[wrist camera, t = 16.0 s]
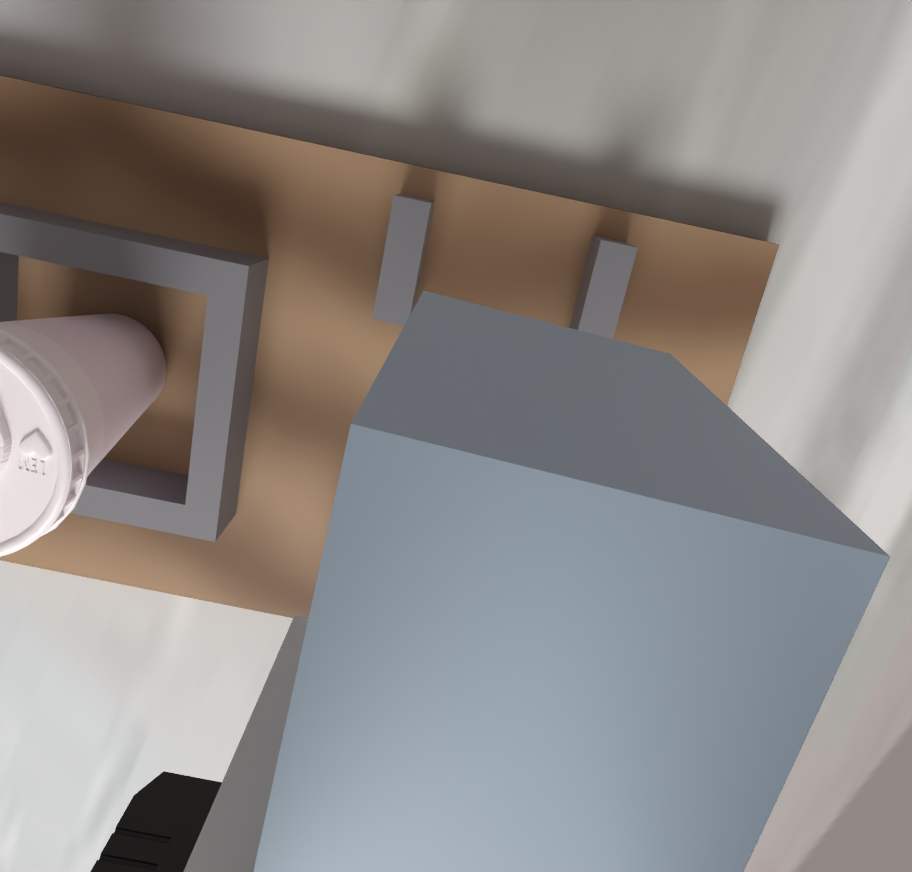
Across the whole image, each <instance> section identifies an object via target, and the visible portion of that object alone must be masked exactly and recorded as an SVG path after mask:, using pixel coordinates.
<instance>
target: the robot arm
mask: <svg viewBox="0 0 912 872" xmlns="http://www.w3.org/2000/svg"><path fill="white" fill-rule="evenodd" d="M307 623H308V617H303V616H298V615H295V616H294V618H293V621H292V623H291V625H290V627H289V630H288V632H287V634H286V637H285V639H284V641H283V644H282V646H281V648H280V650H279V653H278V655H277V657H276V660H275V662H274V664H273V667H272V669H271V671H270V674H269V676H268V678H267V680H266V683H265V685H264V687H263V690H262V692H261V694H260V697H259V699H258V701H257V703H256V706H255V708H254V710H253V713H252V715H251V717H250V720H249V722H248V724H247V726H246V729H245V731H244V733H243V736H242V738H241V740H240V743H239V745H238V747H237V750H236V752H235V754H234V756H233V759H232V761H231V763H230V766H229V768H228V770H227V773H226V775H225V777H224V779H223V782H222V783H221V782H216V781H211V780H205V779H200V778H195V777H190V776H184V775H179V774H174V773H169V772H163V773H161V774H160V775H159V776H158V777H156V778H155V779H154V780H153V781H151V782H150V783H149V784H148V785H146V786H145V787H144V788H143V789H142V790H140V791H139V792H138V793H137V794H135V795H134V796H133V798H132V800H131V802H130V803H129V805H128V807H127V809H126V811H125V812H124V814H123V816H122V818H121V819H120V821H119V823H118V825H117V826H116V830H115V832H114V834H113V833H112V835H111V837H110V839H109V840H108V842H107V844H106V846H105V847H104V849H103V851H102V853H101V856H100V859H99V860H97V862H96V863H95V865H94V867H93V869H92V870H91V872H253V871H254V866H255V862H256V857H257V853H258V848H259V843H260V839H261V834H262V830H263V825H264V821H265V816H266V811H267V807H268V802H269V798H270V793H271V788H272V784H273V779H274V775H275V770H276V765H277V761H278V756H279V752H280V747H281V742H282V738H283V733H284V729H285V724H286V719H287V715H288V710H289V706H290V701H291V696H292V692H293V687H294V683H295V678H296V673H297V669H298V664H299V660H300V655H301V651H302V646H303V641H304V637H305V632H306V628H307Z"/></svg>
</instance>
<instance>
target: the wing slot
mask: <svg viewBox="0 0 912 872" xmlns="http://www.w3.org/2000/svg"><path fill="white" fill-rule="evenodd" d="M434 203H435V201H430V200H426V199H421V198H416V197H412V196H407V195H402V194H397V195H394V197H393V203H392V208H391V214H390V220H389V226H388V231H387V237H386V243H385V249H384V254H383V260H382V266H381V272H380V278H379V283H378V289H377V295H376V301H375V306H374V312H373V318H372V319H374V320H379V321H383V322H388V323H393V324H398V325H402V326H405V324H406V322H407V320H408V318H409V316H410V315H411V313H412V311H413V309H414V307H415V303H416V298H417V293H418V288H419V282H420V277H421V272H422V267H423V261H424V256H425V251H426V245H427V240H428V235H429V230H430V224H431V219H432V214H433V209H434ZM637 249H638V248H637V247H635V246H633V245H631V244H628V243H625V242H620V241H616V240H611V239H607V238H602V237H597V236H593V237H592V241H591V244H590V248H589V252H588V256H587V260H586V264H585V268H584V272H583V276H582V280H581V284H580V288H579V292H578V296H577V300H576V304H575V308H574V312H573V316H572V320H571V324H570V328H572V329H576V330H579V331H583V332H587V333H591V334H595V335H599V336H603V337H607V338H611V339H613V337H614V333H615V330H616V326H617V322H618V319H619V315H620V311H621V308H622V304H623V300H624V297H625V293H626V289H627V286H628V282H629V278H630V275H631V271H632V267H633V264H634V260H635V256H636V252H637Z"/></svg>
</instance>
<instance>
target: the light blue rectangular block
mask: <svg viewBox="0 0 912 872" xmlns="http://www.w3.org/2000/svg"><path fill="white" fill-rule="evenodd" d="M889 558H890V556H889V555H888V554H887V553H886V552H884V551H883V550H882V549H881V548H880V547H879V546H878V545H877V544H876V543H875V542H874V541H873V540H872V539H870V538H869V537H868V536H867V535H866V534H865V533H864V532H863V531H862V530H861V529H860V528H859V527H857V526H856V525H855V524H854V523H853V522H852V521H851V520H850V519H849V518H848V517H847V516H846V515H844V514H843V513H842V512H841V511H840V510H839V509H838V508H837V507H836V506H835V505H834V504H833V503H831V502H830V501H829V500H828V499H827V498H826V497H825V496H824V495H823V494H822V493H821V492H820V491H818V490H817V489H816V488H815V487H814V486H813V485H812V484H811V483H810V482H809V481H808V480H807V479H805V478H804V477H803V476H802V475H801V474H800V473H799V472H798V471H797V470H796V469H795V468H794V467H792V466H791V465H790V464H789V463H788V462H787V461H786V460H785V459H784V458H783V457H782V456H781V455H779V454H778V453H777V452H776V451H775V450H774V449H773V448H772V447H771V446H770V445H769V444H768V443H766V442H765V441H764V440H763V439H762V438H761V437H760V436H759V435H758V434H757V433H756V432H755V431H753V430H752V429H751V428H750V427H749V426H748V425H747V424H746V423H745V422H744V421H743V420H742V419H740V418H739V417H738V416H737V415H736V414H735V413H734V412H733V411H732V410H731V409H730V408H729V407H727V406H726V405H725V404H724V403H723V402H722V401H721V400H720V399H719V398H718V397H717V396H716V395H714V394H713V393H712V392H711V391H710V390H709V389H708V388H707V387H706V386H705V385H704V384H703V383H701V382H700V381H699V380H698V379H697V378H696V377H695V376H694V375H693V374H692V373H691V372H690V371H688V370H687V369H686V368H685V367H684V366H683V365H682V364H681V363H680V362H679V361H678V360H677V359H675V358H674V357H673V356H672V355H671V354H670V353H666V352H662V351H658V350H654V349H650V348H646V347H642V346H638V345H634V344H630V343H626V342H623V341H619V340H615V339H611V338H607V337H603V336H599V335H595V334H591V333H587V332H583V331H579V330H576V329H572V328H568V327H564V326H560V325H556V324H552V323H548V322H544V321H540V320H536V319H532V318H529V317H525V316H521V315H517V314H513V313H509V312H505V311H501V310H497V309H493V308H489V307H485V306H482V305H478V304H474V303H470V302H466V301H462V300H458V299H454V298H450V297H446V296H442V295H438V294H435V293H431V292H427V291H423V293H422V294H421V296H420V298H419V300H418V302H417V304H416V305H415V307H414V309H413V311H412V313H411V315H410V316H409V318H408V320H407V322H406V324H405V326H404V327H403V329H402V331H401V333H400V335H399V337H398V338H397V340H396V342H395V344H394V346H393V348H392V349H391V351H390V353H389V355H388V357H387V358H386V360H385V362H384V364H383V366H382V368H381V369H380V371H379V373H378V375H377V377H376V379H375V380H374V382H373V384H372V386H371V388H370V390H369V391H368V393H367V395H366V397H365V399H364V401H363V402H362V404H361V406H360V408H359V410H358V412H357V413H356V415H355V417H354V419H353V421H352V423H351V425H350V430H349V435H348V439H347V444H346V448H345V453H344V458H343V462H342V467H341V471H340V476H339V481H338V485H337V490H336V494H335V499H334V503H333V508H332V513H331V517H330V522H329V526H328V531H327V536H326V540H325V545H324V549H323V554H322V559H321V563H320V568H319V572H318V577H317V582H316V586H315V591H314V595H313V600H312V605H311V609H310V614H309V618H308V623H307V628H306V632H305V637H304V641H303V646H302V651H301V655H300V660H299V664H298V669H297V673H296V678H295V683H294V687H293V692H292V696H291V701H290V706H289V710H288V715H287V719H286V724H285V729H284V733H283V738H282V742H281V747H280V752H279V756H278V761H277V765H276V770H275V775H274V779H273V784H272V788H271V793H270V798H269V802H268V807H267V811H266V816H265V821H264V825H263V830H262V834H261V839H260V843H259V848H258V853H257V857H256V862H255V866H254V871H253V872H744V869H745V867H746V865H747V863H748V861H749V859H750V857H751V854H752V852H753V850H754V848H755V846H756V844H757V842H758V839H759V837H760V835H761V833H762V831H763V829H764V827H765V824H766V822H767V820H768V818H769V816H770V814H771V812H772V809H773V807H774V805H775V803H776V801H777V799H778V796H779V794H780V792H781V790H782V788H783V786H784V784H785V781H786V779H787V777H788V775H789V773H790V771H791V769H792V766H793V764H794V762H795V760H796V758H797V756H798V754H799V751H800V749H801V747H802V745H803V743H804V741H805V739H806V736H807V734H808V732H809V730H810V728H811V726H812V724H813V721H814V719H815V717H816V715H817V713H818V711H819V708H820V706H821V704H822V702H823V700H824V698H825V696H826V693H827V691H828V689H829V687H830V685H831V683H832V681H833V678H834V676H835V674H836V672H837V670H838V668H839V666H840V663H841V661H842V659H843V657H844V655H845V653H846V651H847V648H848V646H849V644H850V642H851V640H852V638H853V636H854V633H855V631H856V629H857V627H858V625H859V623H860V621H861V618H862V616H863V614H864V612H865V610H866V608H867V605H868V603H869V601H870V599H871V597H872V595H873V593H874V590H875V588H876V586H877V584H878V582H879V580H880V578H881V575H882V573H883V571H884V569H885V567H886V565H887V563H888V560H889Z"/></svg>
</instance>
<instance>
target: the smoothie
mask: <svg viewBox="0 0 912 872" xmlns="http://www.w3.org/2000/svg"><path fill="white" fill-rule="evenodd" d="M166 373H167V367H166V359H165V355H164V352H163V350H162V347H161V345H160V344H159V342H158V340H157V339H156V337H155V336H154V335H153V334H152V333H151V331H150V330H148V329H147V328H146V327H145V326H144V325H142V324H141V323H140V322H138V321H136V320H134V319H132V318H130V317H127V316H124V315H120V314H113V313H107V314H94V315H81V316H69V317H56V318H44V319H31V320H19V321H6V322H0V557H1V556H5V555H8V554H11V553H14V552H16V551H18V550H20V549H22V548H24V547H26V546H28V545H30V544H31V543H33V542H34V541H36V540H37V539H38V538H39V537H41V536H43V535H45V534H47V533H48V532H50V531H52V530H54V529H55V528H56V527H57V526H58V525H59V524H60V523H61V522H62V521H63V520H64V519H65V518H66V517H67V516H68V514H69V513H70V512H71V511H72V510H73V509H74V508H75V506H76V504H77V502H78V499H79V497H80V495H81V493H82V491H83V489H84V486H85V484H86V480H87V477H88V475H89V474H90V473H91V471H92V470H93V469H94V468H95V467H96V466H97V465H98V464H99V462H100V461H101V460H102V459H103V458H104V457H105V456H106V454H107V453H108V452H109V451H110V450H111V449H112V448H113V447H114V445H115V444H116V443H117V442H118V441H119V440H120V439H121V437H122V436H123V435H124V434H125V433H126V432H127V431H128V430H129V428H130V427H131V426H132V425H133V424H134V423H135V422H136V420H137V419H138V418H139V417H140V416H141V415H142V414H143V413H144V411H145V410H146V409H147V408H148V407H149V406H150V405H151V403H152V402H153V401H154V400H155V399H156V398H157V396H158V395H159V394H160V392H161V390H162V388H163V386H164V383H165V380H166Z"/></svg>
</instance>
